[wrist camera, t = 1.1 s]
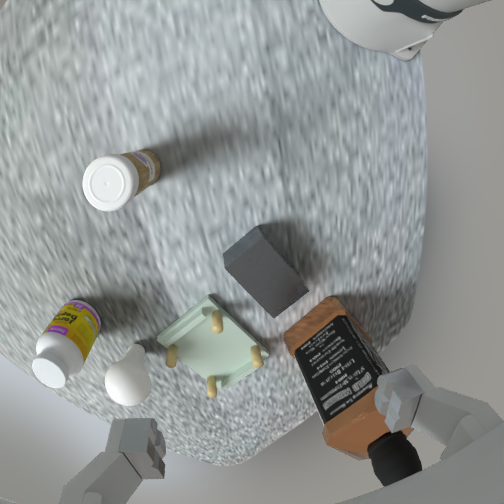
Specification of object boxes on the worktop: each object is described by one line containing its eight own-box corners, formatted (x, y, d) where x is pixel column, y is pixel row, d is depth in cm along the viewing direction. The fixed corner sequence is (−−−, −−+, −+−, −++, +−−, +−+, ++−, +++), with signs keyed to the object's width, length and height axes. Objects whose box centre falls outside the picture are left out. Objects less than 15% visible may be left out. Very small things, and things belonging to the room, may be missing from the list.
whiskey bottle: (366, 331, 47) (476, 490, 17) (318, 369, 48) (395, 540, 19) (331, 292, 44) (462, 481, 14) (279, 335, 45) (353, 544, 15)
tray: (208, 294, 41) (208, 312, 37) (268, 350, 46) (273, 370, 41) (157, 335, 42) (153, 355, 38) (218, 384, 47) (220, 405, 42)
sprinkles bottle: (167, 158, 35) (142, 167, 22) (152, 193, 36) (121, 221, 23) (132, 144, 33) (92, 146, 21) (118, 179, 35) (74, 200, 22)
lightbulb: (160, 363, 44) (151, 416, 34) (122, 362, 43) (107, 413, 33) (155, 330, 42) (143, 383, 32) (114, 329, 41) (94, 379, 31)
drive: (256, 225, 39) (263, 236, 34) (298, 274, 42) (309, 290, 37) (223, 253, 40) (224, 268, 35) (267, 299, 43) (273, 318, 38)
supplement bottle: (91, 294, 39) (56, 348, 27) (108, 333, 41) (83, 393, 30) (55, 302, 39) (16, 353, 27) (73, 339, 41) (43, 395, 29)
